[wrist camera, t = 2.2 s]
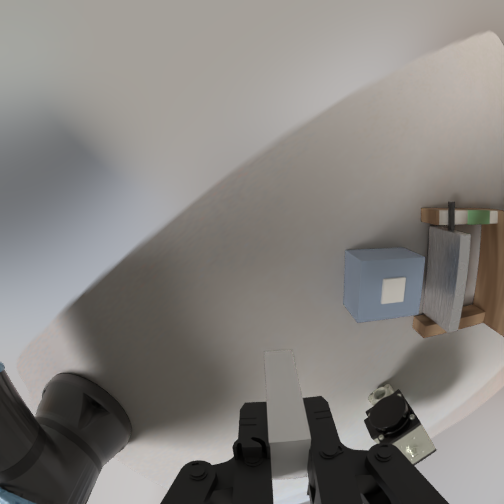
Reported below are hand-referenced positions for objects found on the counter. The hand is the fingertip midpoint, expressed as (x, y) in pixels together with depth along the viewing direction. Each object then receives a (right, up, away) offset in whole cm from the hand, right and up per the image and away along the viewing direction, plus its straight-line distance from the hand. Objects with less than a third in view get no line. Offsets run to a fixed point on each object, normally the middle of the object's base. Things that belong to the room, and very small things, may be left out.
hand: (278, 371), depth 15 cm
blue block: (+12, +4, +15) cm, 20 cm away
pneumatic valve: (+16, -13, +19) cm, 28 cm away
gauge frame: (+24, +5, +15) cm, 28 cm away
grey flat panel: (+20, +6, +14) cm, 25 cm away
